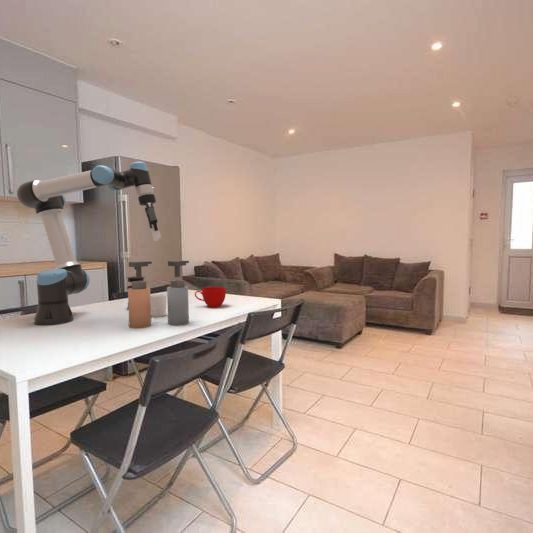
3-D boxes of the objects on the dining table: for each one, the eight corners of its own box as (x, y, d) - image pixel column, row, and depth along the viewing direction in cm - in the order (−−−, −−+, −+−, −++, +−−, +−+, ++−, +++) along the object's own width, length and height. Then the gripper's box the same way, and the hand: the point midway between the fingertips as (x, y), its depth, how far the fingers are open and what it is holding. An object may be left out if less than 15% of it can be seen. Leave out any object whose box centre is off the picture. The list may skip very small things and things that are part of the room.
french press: (122, 308, 191) (121, 266, 189) (136, 306, 199) (135, 264, 198) (138, 310, 186) (136, 266, 184) (151, 307, 194) (150, 265, 192)
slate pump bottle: (177, 326, 152) (176, 282, 151) (163, 323, 157) (162, 280, 156) (193, 322, 160) (192, 279, 158) (178, 319, 165) (178, 278, 163)
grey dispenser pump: (135, 279, 149) (135, 262, 148) (129, 278, 151) (128, 262, 151) (154, 277, 157) (154, 261, 156) (147, 276, 159) (147, 260, 159)
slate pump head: (175, 277, 153) (175, 261, 152) (168, 277, 155) (167, 261, 155) (191, 275, 161) (191, 260, 161) (184, 275, 163) (184, 260, 163)
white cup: (148, 314, 176) (148, 294, 175) (165, 313, 180) (164, 293, 179) (151, 317, 169) (150, 296, 168) (168, 316, 173) (167, 295, 172)
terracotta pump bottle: (138, 328, 148) (136, 283, 147) (124, 326, 153) (123, 282, 151) (155, 324, 155) (154, 281, 154) (142, 322, 160) (141, 280, 159)
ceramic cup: (195, 305, 202) (194, 287, 201) (225, 303, 205) (225, 286, 204) (194, 309, 189) (194, 290, 188) (226, 308, 192) (226, 289, 192)
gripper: (155, 187, 157) (167, 234, 158) (153, 199, 181) (163, 240, 182) (137, 190, 155) (150, 238, 156) (137, 202, 178) (148, 243, 179)
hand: (157, 239), depth 169 cm, fingers open, 13 cm apart
